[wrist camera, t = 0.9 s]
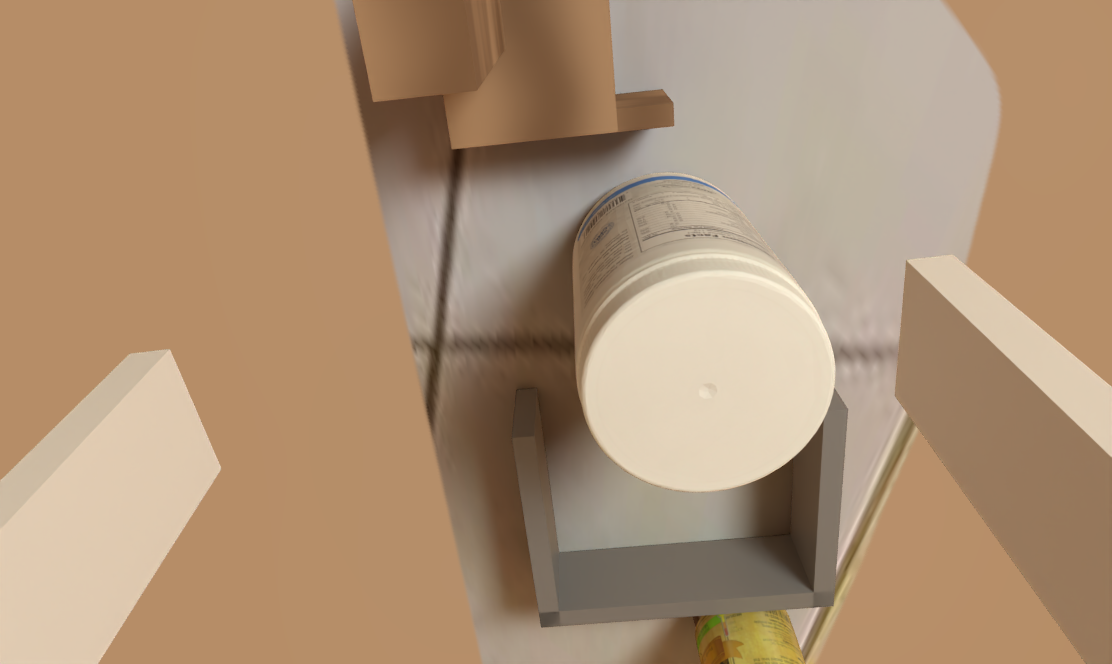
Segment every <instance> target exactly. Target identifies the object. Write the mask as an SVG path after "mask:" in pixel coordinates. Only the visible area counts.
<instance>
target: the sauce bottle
mask: <svg viewBox="0 0 1112 664" xmlns="http://www.w3.org/2000/svg"><path fill="white" fill-rule="evenodd" d="M693 618H694V623H695V626H696V630H695V637H696V643H697V647H698V652H699V657H700V662H701V664H805V662H804V659H803V656H802V653H801V650H800V647H799V644H798V641H797V638H796V635H795V632H794V630H793V627H792V624H791V621H790V618H789V616H788V614H787V612H786V610H773V611H759V612H746V613H732V614H718V615H705V616H693Z"/></svg>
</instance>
